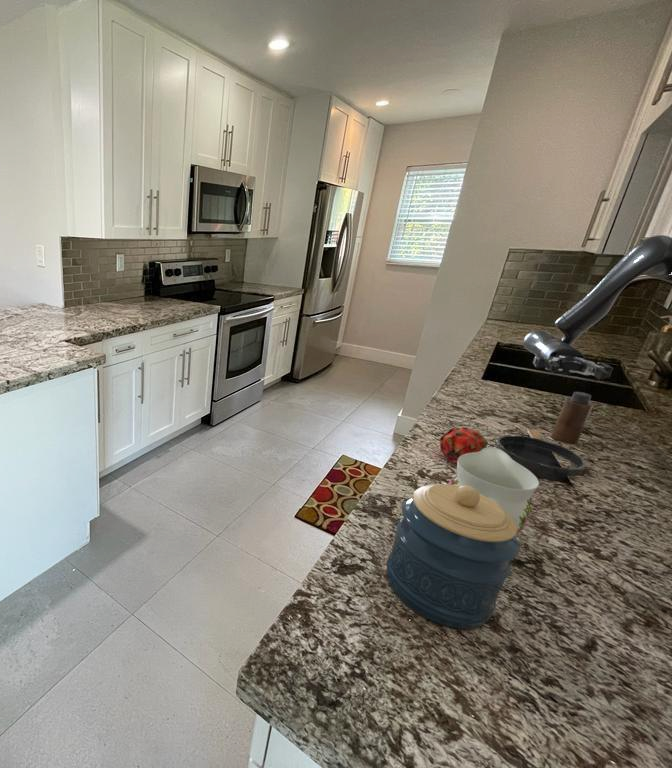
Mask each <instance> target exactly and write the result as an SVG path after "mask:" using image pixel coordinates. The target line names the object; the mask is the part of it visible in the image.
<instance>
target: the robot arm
mask: <svg viewBox="0 0 672 768" xmlns="http://www.w3.org/2000/svg"><path fill="white" fill-rule="evenodd" d="M671 272H672V237H671V236H668V235H664V234H659V235H653V236H650V237H646V238H645V239H643V240H641V241H640V242H638V243H637V244H636V245H634V246H633V247H632V248H631V249H630V250H629V251H628V252H627V253H626V254H625V255H624V256H623V257H622V258H621V259H620V260H619V261H618V263H616V264H615V265H614V267H612V268H611V269H610V271H609V272H608V273H607V274H606V275H605V276H604V277H603V278H602V279H601V280H600V281H599V282H598V283H597V285H595V286H594V287H593V289H592V290H590V292H588V293H587V295H585V296H584V297H583V298H582V299H581V300H579V302H577V303H576V304H575V305H573V306H572V307H571V308H569V310H567V311H565V313H563V314H562V315H561V316H559V317H558V318H557V320H555V322H554V326H555V327H556V328H557V329H558V330H559V331H560V332H561V333H562V334H563V336H562V337H561V338H559V337H558V336H556V335H554V334H552V333H550V332H549V331H547V330H544V329H537V330H533V331H531V332H529V333H528V334H527V335H525V337H524V339H523V341H522V346H523V347H524V349H525V350H527V351H528V352H530V353H531V354H534V357H533V360H532V364H533V366H534V367H535V368H536V369H542V368H544V370H546V371H549V372H551V373H552V374H558V375H570V374H573V373H574V374H575V373H577V374H580V375H583V376H594V377H595V378H596V379H597V380H601V381H604V379H607V378H610V377H611V374H612V371H613V370H614V367H613V366H611V365H609V364H608V363H605V362H603V361H597V363H596V362H593V361H590V360H588V359H585V356H584V355H583V353H582V351H580V350H579V349H577V348H576V347H574V346H572V345H573V344H574V343H575V342H576V340H577V339H578V338H580V336H582V334H583V333H584V332H586V331H587V330H589V329H590V328H591V327H593V326H594V325H596V324H597V323H598V322H599V321H601V320H602V319H603V318H604V317H605V316H606V315H607V314H608V313H609V312H610V310H611V309H612V307H613V305H614V303H616V300H617V298H618V297H619V295H620V294H621V293H622V291H623V290H624V289H625V288H626V287H627V286H628V285H629V284H630V283H632V282H633V281H634V280H636V279H638V278H639V277H641V276H642V275H645V276H648V277H650V278H654V279H658V280H661V281H665V282H668V283H670V284H672V275H669V274H671Z"/></svg>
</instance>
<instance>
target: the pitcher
mask: <svg viewBox="0 0 672 768" xmlns="http://www.w3.org/2000/svg"><path fill="white" fill-rule="evenodd" d="M456 465H457V466H456V473H455V474H454V475H453V476H452V477H451V478H450V480H449V481H448V483H447V484H448V485H455V486H460V487H461V486H471V487H473V488H475V489H476V490H477V491H478V493H480V494H482V495H484V496H486V497H488V498H489V499H491V500H493V501H494V502H495V503H497V504H498V505H499V506H500V507H501V508H502V509H503V510H504V511H506V512H507V513H508V514H509V515H510V516H511V517H512V519H513V520H514V521H515V523H516V526H517V533H516V535H515V537H516V538H517V537H518V536H519V534H521V533H522V531H523V530H524V528H525V526H526V525H527V523H528V521H529V517H530V514H531V497H532V495H533V494H534V493H535V491H536V490H537V489H538V488H539V485H540V481H539V479H538V477H537V476H535V475H534V474H533V473H532V472H530V471H529V470H528V469H526V468H525V467H523V466H522V465H520V464H518V463H517V462H515V461H514V460H512V459H511V457H510V456H509V455H508V454H506V453H505V452H504V451H502V450H500V449H498V448H494V446H488V447H487V446H486V447H485V448H484V449H482V450H481V451H479V452H473V453H467V454H463V455H461V456H460V457H459V458H458V461H457V463H456Z"/></svg>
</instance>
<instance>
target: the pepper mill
mask: <svg viewBox="0 0 672 768" xmlns="http://www.w3.org/2000/svg"><path fill="white" fill-rule="evenodd" d="M591 398H592V395H591V394H590V393H586V392H582V391H574V392H573V393H572V396H571V397H566V398H565V399H564V402H563V404H562V407H561V410H560V411H559V415H558V416H557V420H556V421H555V424H554V427H553V429H552V432H551V433H552V434H550V437H551V439H553V440H554V441H558V442H560V443H563V444H569V445H576V444H577V445H578V442H579V440H580V439H579V438H581V435H582V432H583V431H584V428H585V426H586V424H587V422H588V419H589V417H590V415H591V412H592V409H593V408H594V403H592V402H590V400H591Z"/></svg>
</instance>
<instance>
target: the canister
mask: <svg viewBox="0 0 672 768" xmlns="http://www.w3.org/2000/svg"><path fill="white" fill-rule="evenodd" d="M401 512H402V516H403V517H402V518H400V519H399V521H398V522H397V524H396V534H395V537H394V541H393V544H392V548H391V551H390V553H389V555H388V557H387V561H386V579H387V582H388V585H389V586H390V588H391V589H392V591H393V592H394V594H395V595H396V596H397V597H398V598H399V600H401V601H402V602H403V604H405V605H406V606H407V607H409V608H410V609H411V610H412V611H414V612H415V613H417V614H419V615H420V616H422V617H423V618H426V619H428V620H429V621H432V622H434V623H436V624H439V625H442V626H445V627H448V628H453V629H457V630H458V629H459V630H473V629H478V628H480V627H482V626H483V625H484V624H485V623H486V622H487V621H488V620H489V619H490V618H491V617H492V616H493V615H494V611H495V610H496V607H497V600H498V598H499V595H500V593H501V590H502V588H503V585H504V583H505V581H506V579H507V578H509V576H510V574H511V572H512V571H511V570H512V566H511V560H514V559H515V558H517V556H518V555H519V553H520V543H519V541H518V538H517V537H515V535H516V533H517V526H516V523H515V521H514V520H513V519H512V517H511V516H510V515H509V514H508V513H507V512H506V511H504V510H503V509H502V508H501V507H500V506H499V505H498V504H497V503H495V502H494V501H493V500H491V499H489V498H488V497H486V496H484V495H482V494H480V493H478V491H477V490H476V489H475V488H473V487H471V486H461V487H460V486H455V485H448V483H447V484H446V483H439V484H438V483H437V484H430V485H423V486H419V487H418V488H416V490H415V491H414V492H413V493H412V497H409V498H407V499H406V500H405V501H404V502H403V504H402V507H401Z"/></svg>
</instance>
